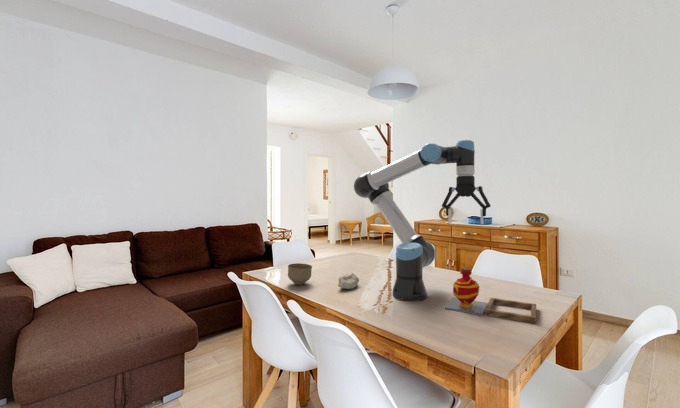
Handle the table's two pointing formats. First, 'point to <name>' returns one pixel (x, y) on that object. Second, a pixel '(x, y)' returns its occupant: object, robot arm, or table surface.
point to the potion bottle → (466, 288)
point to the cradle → (507, 314)
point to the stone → (348, 281)
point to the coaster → (475, 309)
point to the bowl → (299, 273)
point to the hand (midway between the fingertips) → (465, 223)
